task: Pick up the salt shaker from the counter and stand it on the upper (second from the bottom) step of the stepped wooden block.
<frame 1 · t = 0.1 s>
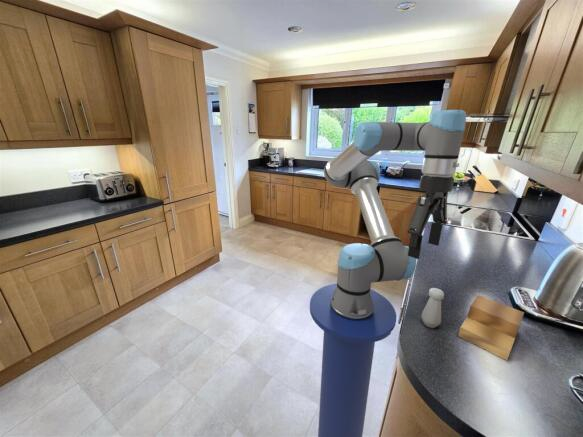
hand: (423, 250, 69), 29 cm above the worktop, tool pointing down, fingers open, 13 cm apart
stepped wooden block: (487, 334, 77), on the worktop
salt shaker: (429, 324, 82), on the worktop
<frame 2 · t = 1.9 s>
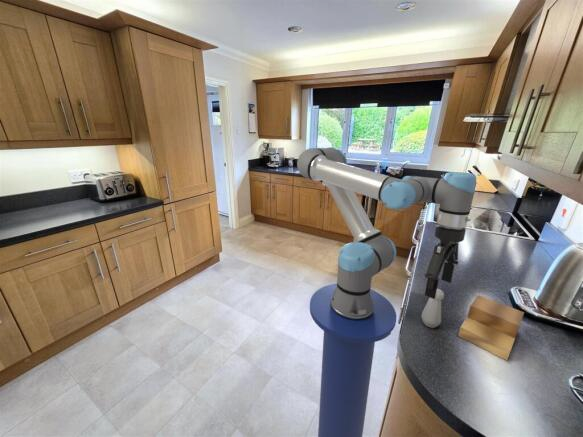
hand: (438, 288, 78), 14 cm above the worktop, tool pointing down, fingers open, 13 cm apart
nothing on the worktop moved.
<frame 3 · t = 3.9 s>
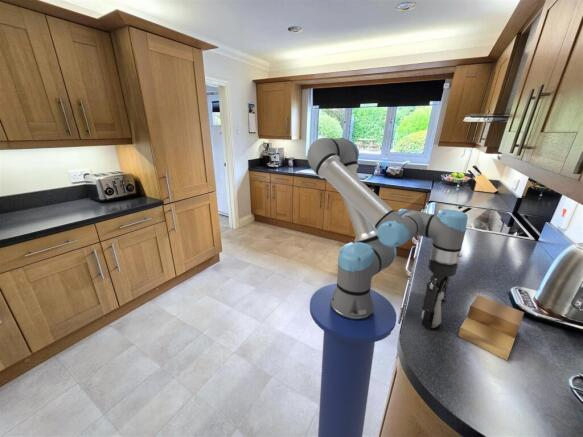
hand: (430, 321, 82), 1 cm above the worktop, tool pointing down, fingers closed on salt shaker, 6 cm apart
salt shaker: (429, 324, 82), on the worktop, touching gripper
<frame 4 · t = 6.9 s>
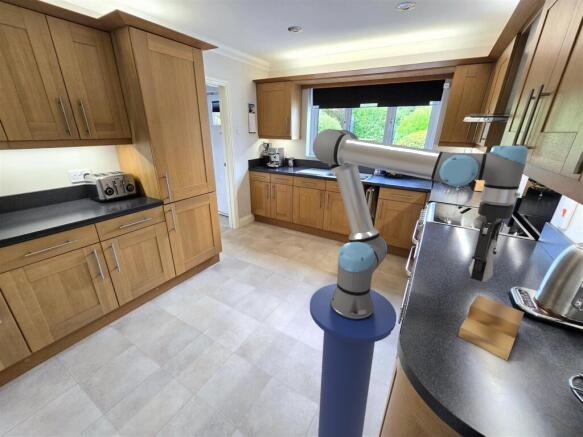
hand: (479, 275, 75), 19 cm above the worktop, tool pointing down, fingers closed on salt shaker, 6 cm apart
salt shaker: (478, 278, 75), point 18 cm above the worktop, touching gripper
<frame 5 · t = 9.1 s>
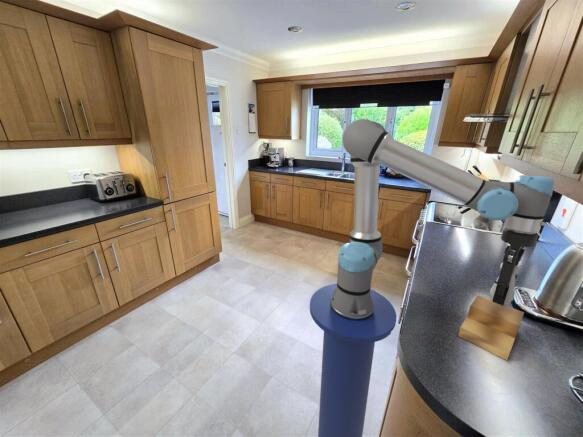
hand: (500, 298, 76), 12 cm above the worktop, tool pointing down, fingers closed on salt shaker, 6 cm apart
salt shaker: (499, 301, 77), point 11 cm above the worktop, touching gripper
when the fingers open (9 cm above the worktop, at t = 10.2 s): salt shaker stays where it is, resting on stepped wooden block.
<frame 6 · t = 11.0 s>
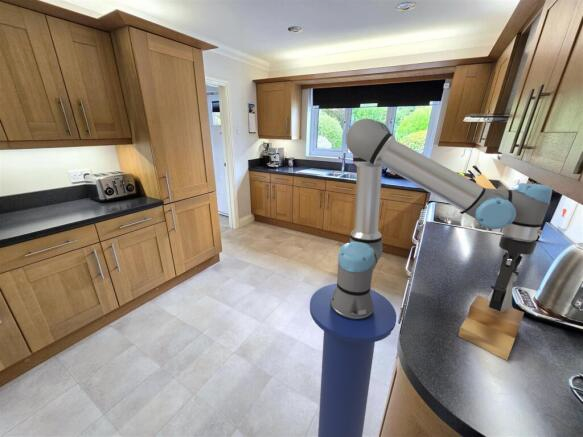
hand: (499, 299, 77), 11 cm above the worktop, tool pointing down, fingers open, 13 cm apart
salt shaker: (497, 308, 78), point 8 cm above the worktop, touching stepped wooden block
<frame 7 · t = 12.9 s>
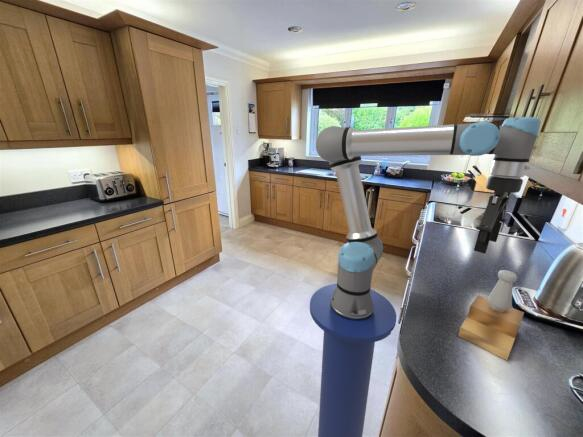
hand: (485, 246, 75), 28 cm above the worktop, tool pointing down, fingers open, 13 cm apart
nothing on the worktop moved.
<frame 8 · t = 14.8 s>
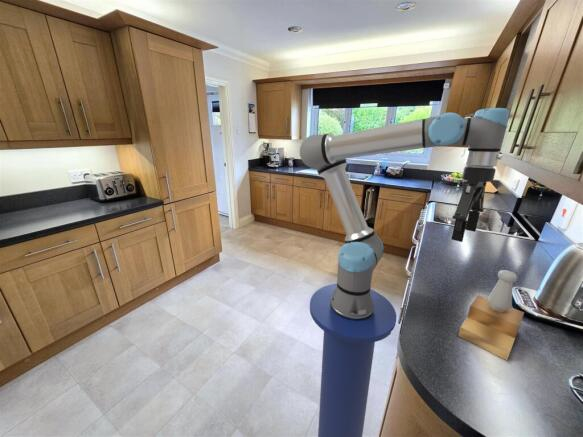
hand: (463, 235, 76), 31 cm above the worktop, tool pointing down, fingers open, 13 cm apart
nothing on the worktop moved.
at the end: salt shaker inside the target area (0.1 cm from its centre), point 7.8 cm above the worktop; salt shaker tilted 0° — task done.
